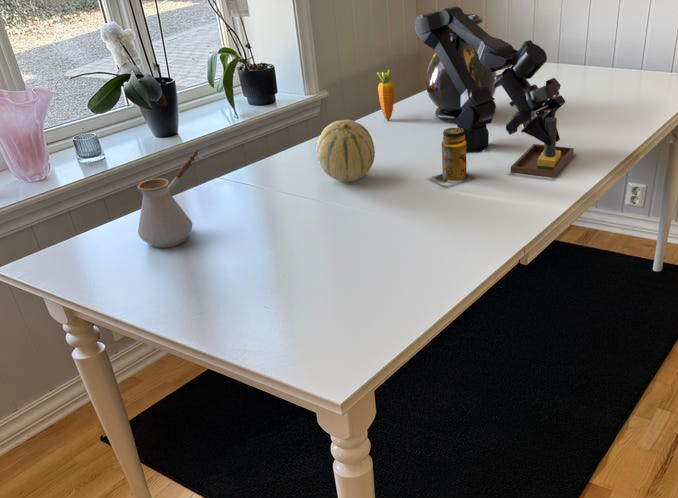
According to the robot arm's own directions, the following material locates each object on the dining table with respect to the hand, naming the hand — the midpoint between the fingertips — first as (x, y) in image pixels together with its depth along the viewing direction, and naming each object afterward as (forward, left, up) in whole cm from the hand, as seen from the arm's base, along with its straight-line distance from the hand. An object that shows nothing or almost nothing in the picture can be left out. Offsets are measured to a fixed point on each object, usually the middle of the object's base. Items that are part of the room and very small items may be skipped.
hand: (554, 142), depth 171 cm
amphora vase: (-19, +49, -7) cm, 53 cm away
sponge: (-1, +2, -6) cm, 6 cm away
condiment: (-26, -3, -7) cm, 27 cm away
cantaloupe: (-52, +1, -7) cm, 53 cm away
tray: (-2, +3, -7) cm, 8 cm away
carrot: (-42, +49, -7) cm, 65 cm away
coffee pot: (-88, -25, -7) cm, 92 cm away
